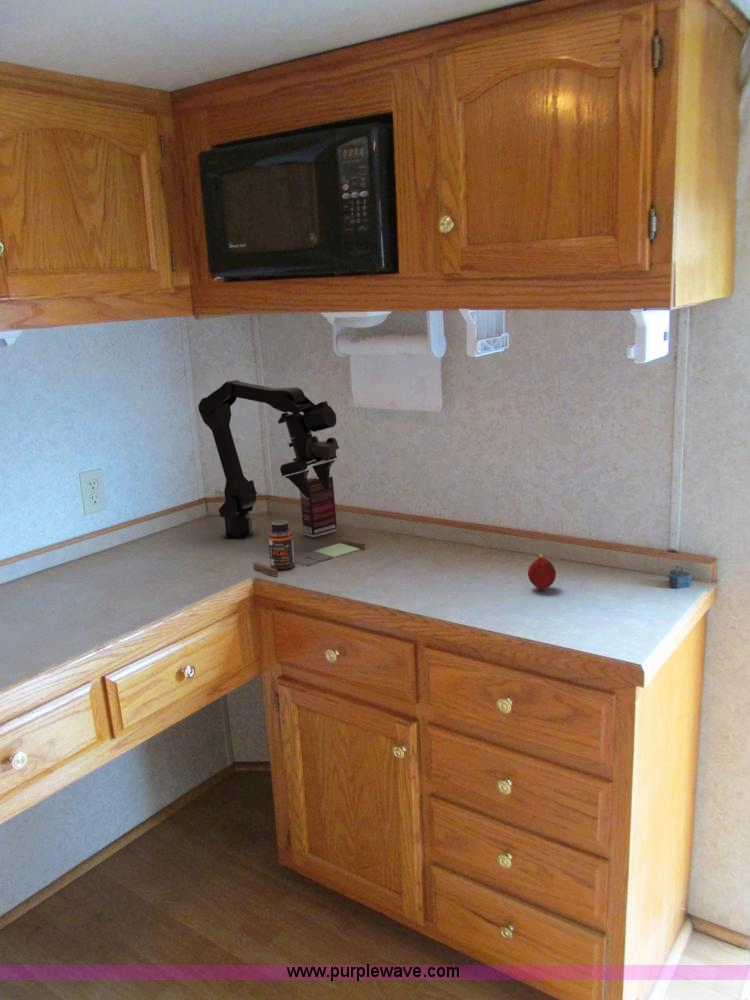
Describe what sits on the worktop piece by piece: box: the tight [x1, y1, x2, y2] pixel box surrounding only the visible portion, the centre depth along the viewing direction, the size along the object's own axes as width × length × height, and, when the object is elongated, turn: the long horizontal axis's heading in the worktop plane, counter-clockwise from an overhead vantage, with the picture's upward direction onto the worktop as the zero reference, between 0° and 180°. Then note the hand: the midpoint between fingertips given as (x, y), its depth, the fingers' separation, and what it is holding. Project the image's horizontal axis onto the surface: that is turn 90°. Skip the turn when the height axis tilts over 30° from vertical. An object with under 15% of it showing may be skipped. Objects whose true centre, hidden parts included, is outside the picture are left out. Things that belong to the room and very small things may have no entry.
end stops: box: [252, 536, 366, 576], centre depth 207 cm, size 28×9×2 cm, turn 131°
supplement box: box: [299, 475, 338, 538], centre depth 228 cm, size 9×5×16 cm, turn 130°
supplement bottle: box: [267, 520, 296, 570], centre depth 201 cm, size 6×6×11 cm
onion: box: [527, 553, 557, 591], centre depth 176 cm, size 6×6×8 cm
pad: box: [314, 542, 361, 559], centre depth 213 cm, size 9×8×1 cm
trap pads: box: [294, 551, 333, 567], centre depth 207 cm, size 8×8×1 cm
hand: (318, 493), depth 216 cm, fingers open, 9 cm apart
